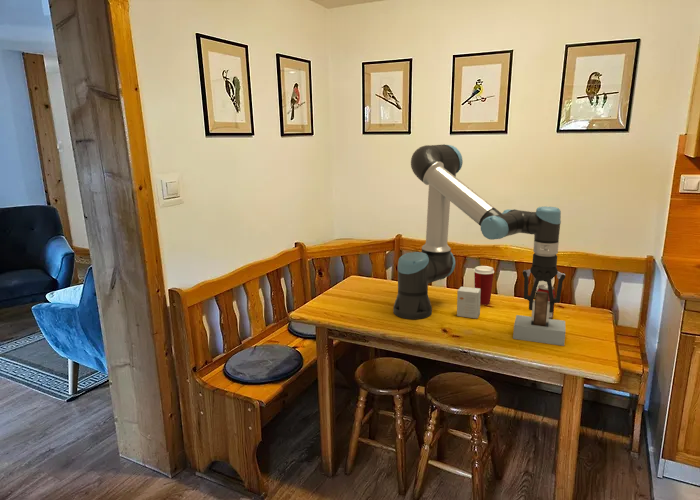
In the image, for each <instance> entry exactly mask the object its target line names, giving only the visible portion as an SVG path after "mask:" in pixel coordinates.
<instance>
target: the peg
mask: <svg viewBox="0 0 700 500" xmlns="http://www.w3.org/2000/svg"><path fill="white" fill-rule="evenodd" d="M534 300H535V311H534V322H533V325H537V326H544V327H546V316H547V304H548V293H547V292H542V291H539V292H536V293H535V296H534Z"/></svg>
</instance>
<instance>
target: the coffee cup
mask: <svg viewBox="0 0 700 500" xmlns="http://www.w3.org/2000/svg"><path fill="white" fill-rule="evenodd" d="M472 271H473V274H474V276H473V277H474V288H480V289H481V295H480V306H488V305H490V303H491V297H492V290H493V283H494V282H493V281H494V273H495V270H494V267H492V266H487V265H479V266H475V267H474V269H473V270H472Z"/></svg>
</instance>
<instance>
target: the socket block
mask: <svg viewBox="0 0 700 500" xmlns="http://www.w3.org/2000/svg"><path fill="white" fill-rule="evenodd" d="M531 319H532V316H528V315H520V314H519V315H518V314H516V316H515V320H514V323H513V334H512V339H514V340H519V341H526V342H535V343H541V344H548V345H555V346H561V347H563V346H564V347H565V340H566V320H562V319H561V320H560V319H552V318H550V319H549V321H548V322H546V327H544V326H537V325H533V322H534V321H532V320H531Z"/></svg>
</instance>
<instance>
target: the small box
mask: <svg viewBox="0 0 700 500" xmlns="http://www.w3.org/2000/svg"><path fill="white" fill-rule="evenodd" d="M480 295H481V289H480V288H475V287H471V286H470V287H468V286H460V287H459V288H458V289H457V297H456V298H457V299H456V300H457V301H456V305H457V306H456V316H457V317H462V318H471V319H478V318H479V316H480V313H481V305H480Z"/></svg>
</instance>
